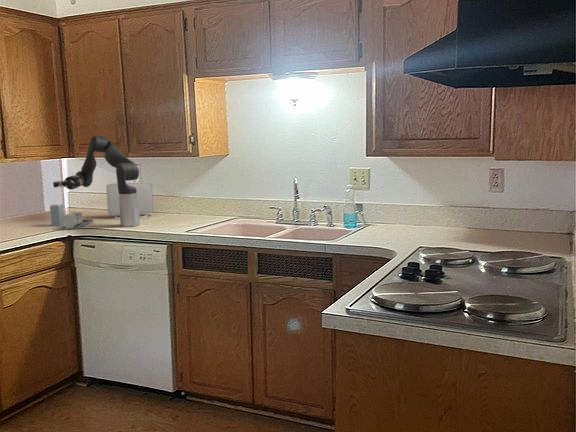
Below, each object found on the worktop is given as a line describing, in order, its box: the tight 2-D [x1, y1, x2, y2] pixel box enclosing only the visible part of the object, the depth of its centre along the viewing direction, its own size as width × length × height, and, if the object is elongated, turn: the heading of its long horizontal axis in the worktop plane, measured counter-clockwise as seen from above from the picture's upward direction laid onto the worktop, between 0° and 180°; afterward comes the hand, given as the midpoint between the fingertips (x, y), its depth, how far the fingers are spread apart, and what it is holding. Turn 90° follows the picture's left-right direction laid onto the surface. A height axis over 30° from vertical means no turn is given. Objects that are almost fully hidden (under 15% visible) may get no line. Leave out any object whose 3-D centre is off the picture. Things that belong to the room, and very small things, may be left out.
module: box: [49, 203, 65, 227], centre depth 316 cm, size 6×5×12 cm
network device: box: [105, 181, 154, 220], centre depth 342 cm, size 26×9×20 cm, turn 108°
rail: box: [61, 211, 94, 230], centre depth 313 cm, size 23×8×8 cm, turn 178°
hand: (62, 185), depth 324 cm, fingers open, 8 cm apart
